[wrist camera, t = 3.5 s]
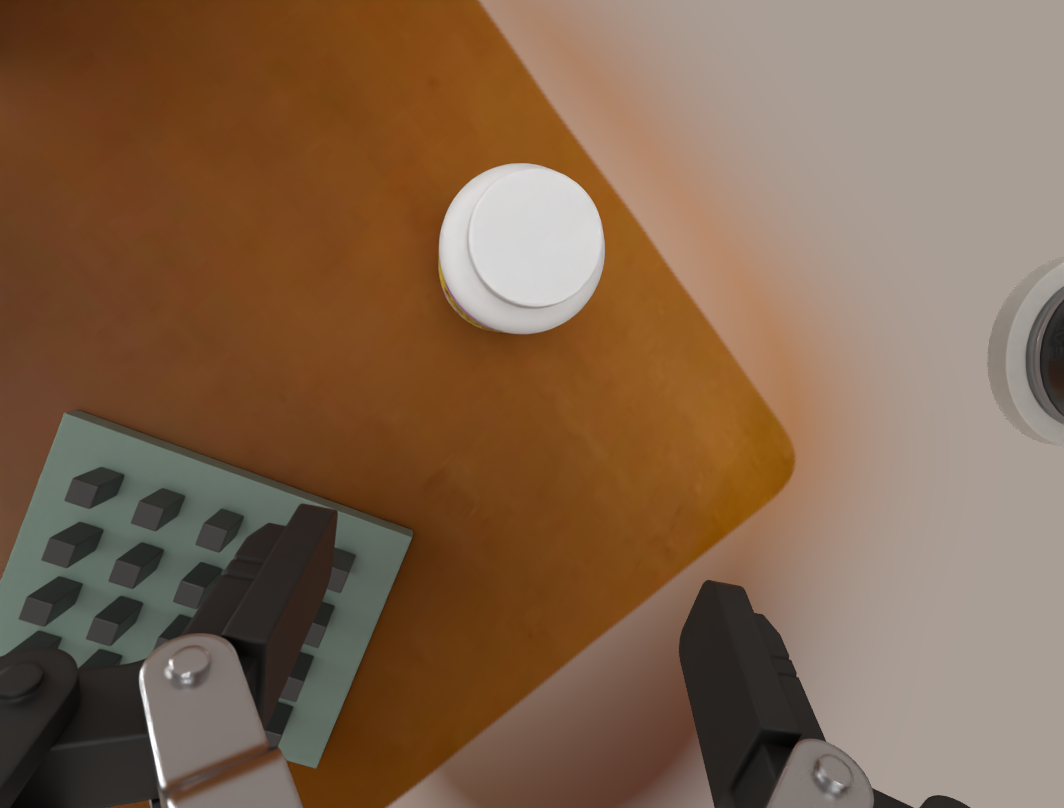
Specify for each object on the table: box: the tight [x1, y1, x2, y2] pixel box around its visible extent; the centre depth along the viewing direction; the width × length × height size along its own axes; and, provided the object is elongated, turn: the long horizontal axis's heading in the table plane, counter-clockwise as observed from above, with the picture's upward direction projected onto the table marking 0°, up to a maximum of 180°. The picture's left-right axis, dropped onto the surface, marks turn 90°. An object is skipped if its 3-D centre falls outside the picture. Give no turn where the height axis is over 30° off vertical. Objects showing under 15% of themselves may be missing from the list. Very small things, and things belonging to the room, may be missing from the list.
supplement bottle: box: [438, 163, 605, 334], centre depth 28 cm, size 7×7×13 cm
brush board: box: [0, 410, 413, 768], centre depth 32 cm, size 18×14×4 cm
